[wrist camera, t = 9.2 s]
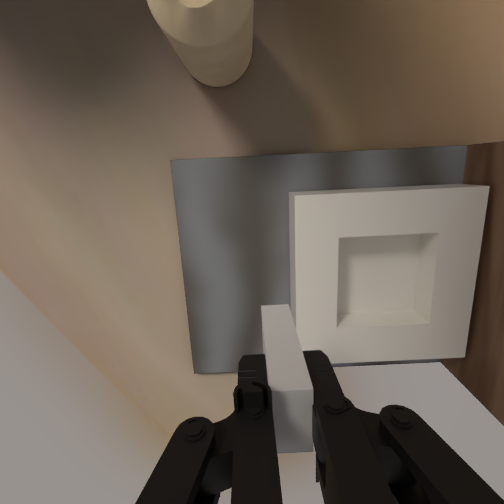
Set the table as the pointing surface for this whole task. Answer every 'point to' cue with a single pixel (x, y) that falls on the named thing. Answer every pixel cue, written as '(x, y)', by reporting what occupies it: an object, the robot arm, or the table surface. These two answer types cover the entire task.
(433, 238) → the holder
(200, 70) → the candle
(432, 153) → the backstop jig
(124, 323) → the table surface
